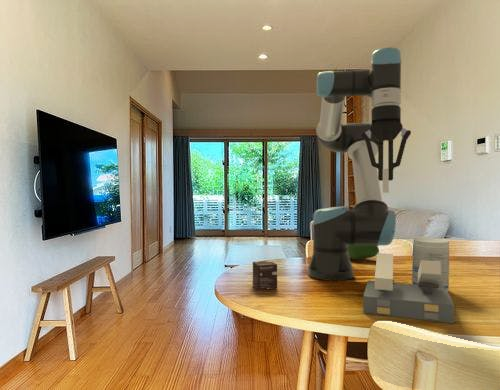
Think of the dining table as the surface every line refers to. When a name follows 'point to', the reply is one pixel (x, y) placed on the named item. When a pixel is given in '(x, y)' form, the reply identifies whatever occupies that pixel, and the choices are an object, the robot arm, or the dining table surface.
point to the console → (410, 301)
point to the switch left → (384, 272)
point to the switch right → (429, 271)
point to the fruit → (362, 251)
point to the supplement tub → (431, 257)
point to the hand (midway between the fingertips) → (385, 192)
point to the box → (264, 274)
